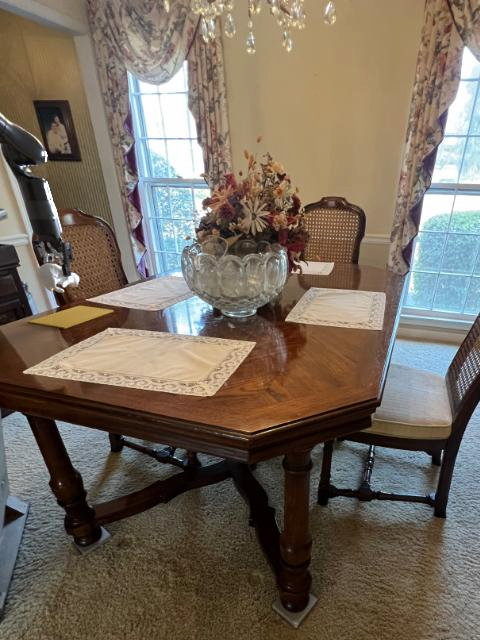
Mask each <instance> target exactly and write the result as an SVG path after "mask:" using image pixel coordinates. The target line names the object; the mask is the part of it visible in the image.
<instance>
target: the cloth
mask: <svg viewBox="0 0 480 640" xmlns="http://www.w3.org/2000/svg"><path fill="white" fill-rule="evenodd" d="M114 312H115V310H113V309H108V308H101V307H93V306H86V305H76V306H73V307H70V308H66V309H64V310H60V311H57V312H54V313H50V314H47V315H44V316H40V317H37V318H34V319H31V320H27V323H28V324H29V323H30V324H35V325H41V326H47V327H52V328H58V329H69V328H71V327H75V326H76V325H80V324H82V323H86V322H88V321H91V320H95V319H96V318H100V317H102V316H105V315H108V314H110V313H114Z"/></svg>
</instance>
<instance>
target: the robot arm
mask: <svg viewBox="0 0 480 640" xmlns="http://www.w3.org/2000/svg"><path fill="white" fill-rule="evenodd" d="M0 150H1V154H2V156H3V158H4V160H5V162H6V164H7V165H8V168H9V169H10V171H11V173H12V174H13V176H14V178H15V179H16V181H17V183H18V184H19V188H20V192H21V195H22V197H23V201H24V205H25V210H26V213H27V214H26V215H27V217H28V221H29V223H30V227H31V229H32V232H33V233H32V234H34V235H35V236H37V239H33V240H31V245H32V246H33V248H34V251H35V253H36V255H37V257H38V259H39V261H43V262H44V264H56V263H55V261H54V259H55V258H56V259H57V260H58V262H59V264H60V267H61V269H62V272H63V276H64V277H69V276H71V273H72V271H71V268H70V263H73V262H74V255H73V248H72V247H73V246H72V243H71V241H64V240H63V239H62V237H61V234H63V230H62V225H61V222H60V219H59V215H58V212H57V208H56V206H55V203H54V201H53V197H52V193H51V191H50V187H49V184H48V180H46V178H44V177H42V176H39V175H36V174H34V173H33V171H32V169H31V168H30V167H41V166H43V165H45V164H46V162H47V157H48V154H47V151H46V148H45V146H44V145H43V143H42V142H41V140H39V138H38V137H36V135H34V134H33V133H31V132H30V131H29V130H27V129H26V128H24V127H22V126H20V125H19V124H18V123H16V122H15V121H13V120H10V119H9V118H8V117H6V115H4V114H3V113H2V112H1V111H0ZM54 257H55V258H54Z"/></svg>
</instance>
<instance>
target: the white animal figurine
mask: <svg viewBox="0 0 480 640" xmlns="http://www.w3.org/2000/svg"><path fill="white" fill-rule="evenodd" d="M37 277H38V278H39V280H40V282H41V283H42V285H43V286H44V288H45V289H46V290H47V291H48V292H53V291H55V292H57V293H60V294H61V293H65V290H64V289H63V288H67V286H69V287H72V288H78V285H79V282H80V277H79V275H78V274H76V273H74V272H71V276H69V277H64V276H63V272H62V269H61V265H58V264H56V263H55V264H46V263H44V264H42V265H40V266H39V268H38V274H37ZM57 285H61V287H62V288H61V287H59V286H57Z"/></svg>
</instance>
